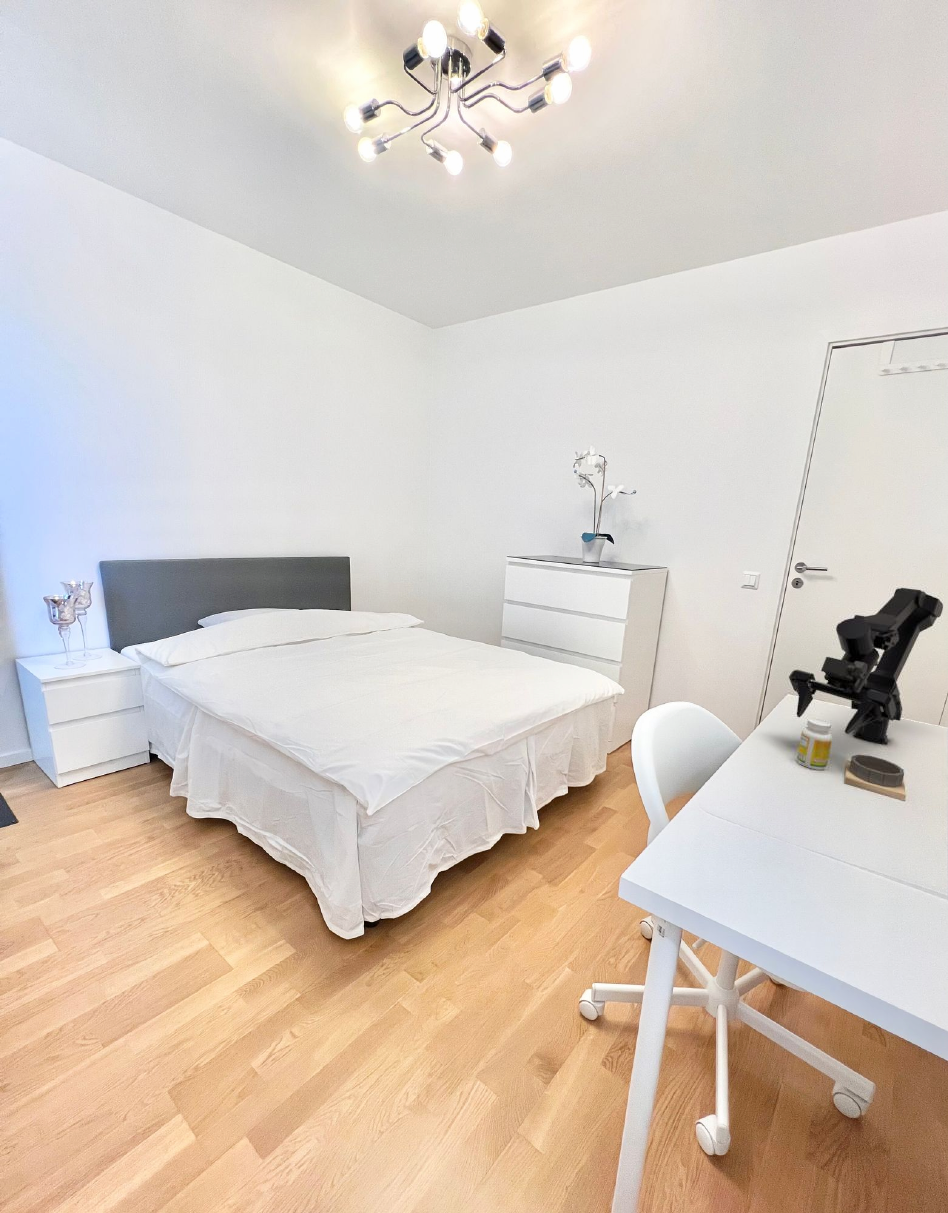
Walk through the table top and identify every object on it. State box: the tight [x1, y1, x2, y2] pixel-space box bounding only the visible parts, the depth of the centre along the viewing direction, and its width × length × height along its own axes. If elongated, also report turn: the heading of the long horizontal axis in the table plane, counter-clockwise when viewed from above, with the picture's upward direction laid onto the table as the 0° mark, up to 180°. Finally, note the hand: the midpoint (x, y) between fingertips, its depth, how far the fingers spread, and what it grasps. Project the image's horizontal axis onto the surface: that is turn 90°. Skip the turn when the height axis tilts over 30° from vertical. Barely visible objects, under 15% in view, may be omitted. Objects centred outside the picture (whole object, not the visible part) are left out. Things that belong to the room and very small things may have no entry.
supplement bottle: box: [796, 717, 833, 771], centre depth 107 cm, size 5×5×10 cm
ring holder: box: [844, 754, 907, 802], centre depth 101 cm, size 10×9×4 cm
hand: (821, 724), depth 107 cm, fingers open, 9 cm apart
